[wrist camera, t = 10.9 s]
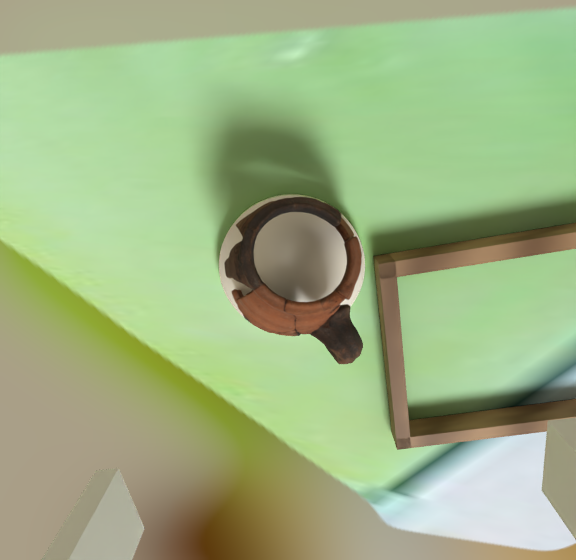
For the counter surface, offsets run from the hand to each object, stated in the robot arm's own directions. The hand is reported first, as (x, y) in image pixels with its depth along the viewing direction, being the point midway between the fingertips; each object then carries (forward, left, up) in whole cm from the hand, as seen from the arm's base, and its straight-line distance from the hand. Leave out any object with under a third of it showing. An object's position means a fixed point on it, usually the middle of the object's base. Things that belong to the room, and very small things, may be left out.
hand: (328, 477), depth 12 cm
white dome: (+1, -1, -19) cm, 19 cm away
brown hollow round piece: (+1, -1, -18) cm, 18 cm away
